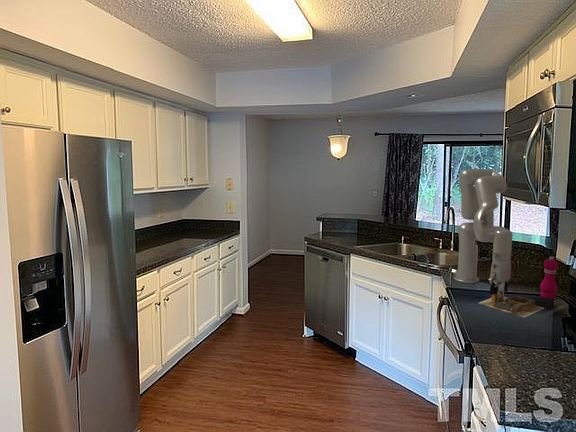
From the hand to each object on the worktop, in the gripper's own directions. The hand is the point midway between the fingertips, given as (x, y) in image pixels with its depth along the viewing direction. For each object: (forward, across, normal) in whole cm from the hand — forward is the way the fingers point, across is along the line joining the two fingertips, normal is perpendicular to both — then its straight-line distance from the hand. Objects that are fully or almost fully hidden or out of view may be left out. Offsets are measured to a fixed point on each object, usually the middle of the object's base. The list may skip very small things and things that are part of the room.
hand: (498, 292), depth 203 cm
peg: (+4, 0, 0) cm, 4 cm away
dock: (+5, -2, -7) cm, 9 cm away
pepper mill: (+5, +27, -10) cm, 29 cm away
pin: (+3, -9, -6) cm, 11 cm away
